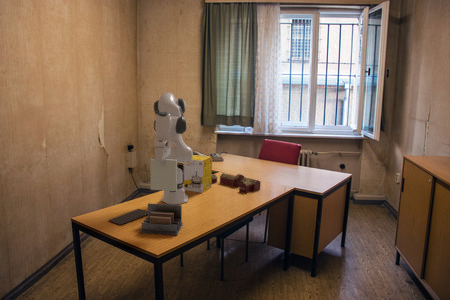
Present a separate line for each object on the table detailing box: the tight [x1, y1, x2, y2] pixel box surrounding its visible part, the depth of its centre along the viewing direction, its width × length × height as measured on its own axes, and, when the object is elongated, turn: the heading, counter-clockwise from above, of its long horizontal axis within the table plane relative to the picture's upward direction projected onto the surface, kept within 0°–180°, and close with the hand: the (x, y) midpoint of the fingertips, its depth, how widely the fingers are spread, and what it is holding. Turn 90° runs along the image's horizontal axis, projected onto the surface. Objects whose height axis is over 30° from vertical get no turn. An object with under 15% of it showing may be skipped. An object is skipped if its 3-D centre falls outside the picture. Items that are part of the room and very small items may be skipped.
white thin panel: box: [149, 158, 178, 192], centre depth 209 cm, size 2×15×18 cm, turn 85°
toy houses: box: [211, 172, 261, 194], centre depth 299 cm, size 45×20×10 cm, turn 52°
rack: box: [139, 203, 184, 237], centre depth 209 cm, size 15×21×12 cm
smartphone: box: [108, 208, 148, 227], centre depth 226 cm, size 12×2×25 cm
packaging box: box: [183, 154, 213, 194], centre depth 287 cm, size 16×16×25 cm
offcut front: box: [149, 216, 171, 224], centre depth 206 cm, size 2×12×7 cm, turn 85°
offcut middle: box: [150, 212, 174, 222], centre depth 210 cm, size 2×13×8 cm, turn 84°
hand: (163, 165), depth 208 cm, fingers closed on white thin panel, 2 cm apart
